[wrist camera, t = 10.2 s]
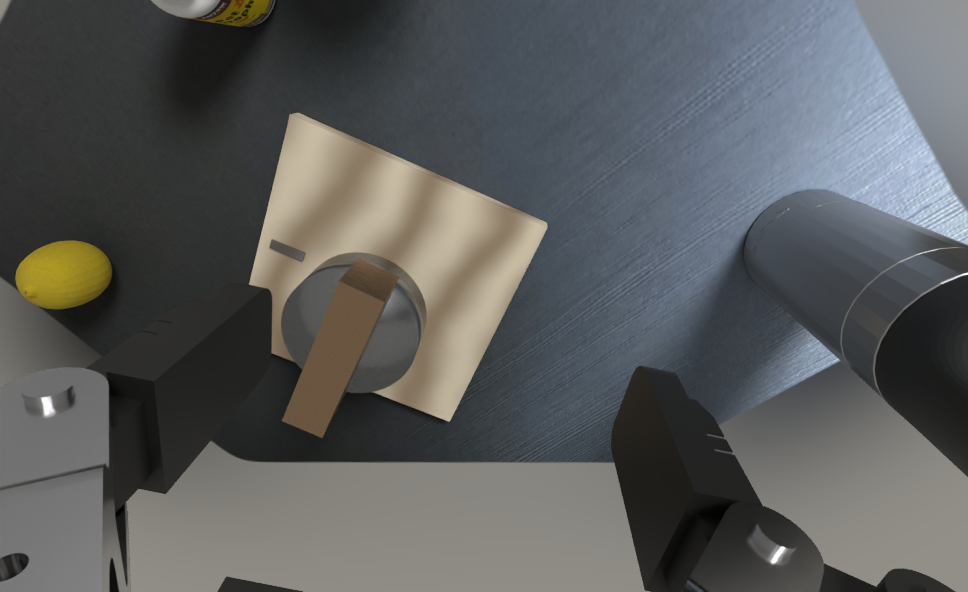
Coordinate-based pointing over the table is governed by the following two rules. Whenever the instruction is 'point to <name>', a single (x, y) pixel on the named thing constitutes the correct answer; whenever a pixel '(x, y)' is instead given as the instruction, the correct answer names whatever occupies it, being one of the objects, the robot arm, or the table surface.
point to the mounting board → (396, 248)
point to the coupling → (349, 333)
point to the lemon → (63, 274)
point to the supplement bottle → (220, 10)
